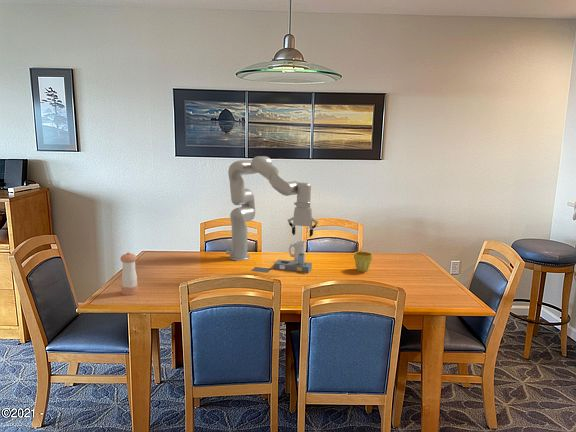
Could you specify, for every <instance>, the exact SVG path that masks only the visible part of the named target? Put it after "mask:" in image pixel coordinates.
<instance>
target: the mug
mask: <svg viewBox="0 0 576 432" xmlns="http://www.w3.org/2000/svg"><path fill="white" fill-rule="evenodd" d="M293 247H294V248H293ZM292 248H293V249H294V253H293V254H292V252H291V251H292V250H291V249H292ZM288 253H289V255H290V257H291V258H294V259H293V261H298V255H299V254H300V253H304V254H305V255H306V241H304V240H303V241H302V240H296V241H294V244H293V243H290V245H289V247H288Z"/></svg>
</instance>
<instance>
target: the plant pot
mask: <svg viewBox="0 0 576 432" xmlns="http://www.w3.org/2000/svg"><path fill="white" fill-rule="evenodd" d="M353 259H354V262H355V268H356V269H355V270H356V271H357V272H362V273H363V272H365V273H366V272H368V271H369V268H370V265H371V262H372V260H373V254H372V253H371V252H369V251H361V250H360V251H354V253H353Z"/></svg>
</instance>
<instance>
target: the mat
mask: <svg viewBox="0 0 576 432" xmlns="http://www.w3.org/2000/svg"><path fill="white" fill-rule="evenodd" d="M271 270H272V268H271V267H269V268H268V267H261V266H254V268H252V269H251V270H250V272H257V273H269V272H270V271H271Z"/></svg>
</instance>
